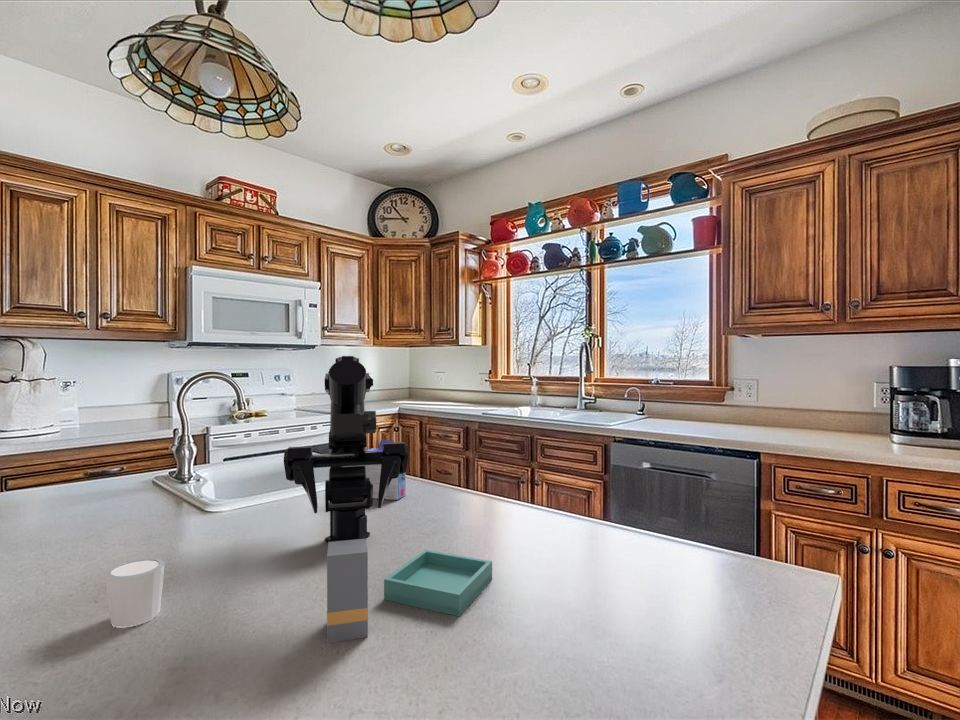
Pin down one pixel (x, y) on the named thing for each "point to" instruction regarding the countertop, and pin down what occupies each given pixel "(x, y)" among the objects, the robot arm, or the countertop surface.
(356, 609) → the gray rectangular block
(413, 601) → the tray
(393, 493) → the ink cartridge box
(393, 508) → the countertop surface
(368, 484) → the robot arm
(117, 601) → the white cup
